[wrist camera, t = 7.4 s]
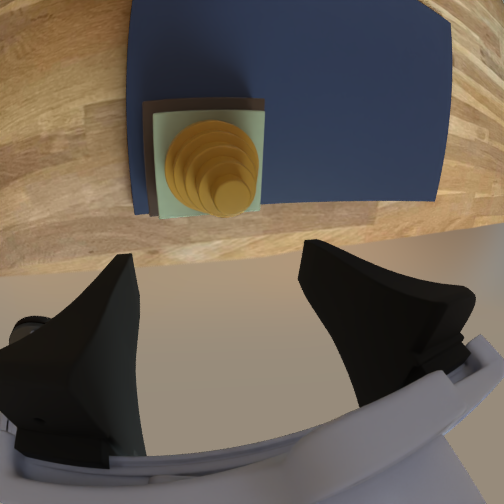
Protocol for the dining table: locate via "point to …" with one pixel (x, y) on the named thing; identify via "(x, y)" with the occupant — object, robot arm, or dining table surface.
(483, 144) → the dining table surface
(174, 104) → the block stack
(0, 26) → the dining table surface
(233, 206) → the cone
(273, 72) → the board
